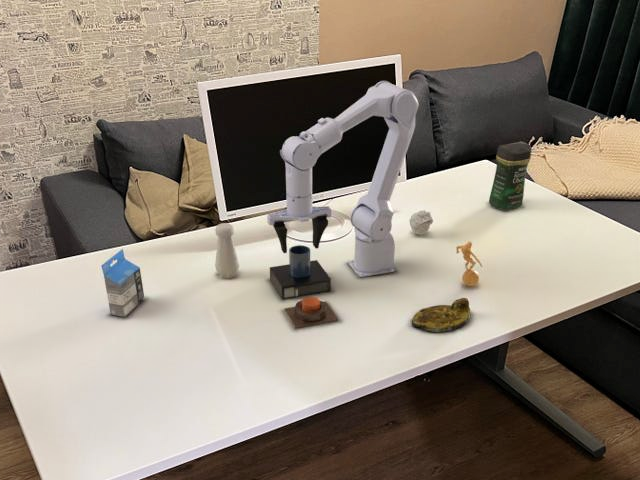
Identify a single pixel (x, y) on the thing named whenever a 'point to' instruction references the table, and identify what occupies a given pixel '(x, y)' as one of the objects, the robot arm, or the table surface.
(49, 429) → the table surface
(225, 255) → the salt shaker
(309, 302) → the button
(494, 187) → the coffee jar
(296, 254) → the cup
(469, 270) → the figurine
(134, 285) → the blue and grey carton
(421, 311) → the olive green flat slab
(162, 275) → the table surface
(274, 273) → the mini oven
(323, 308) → the control pad
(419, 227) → the crumpled paper ball
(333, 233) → the table surface
